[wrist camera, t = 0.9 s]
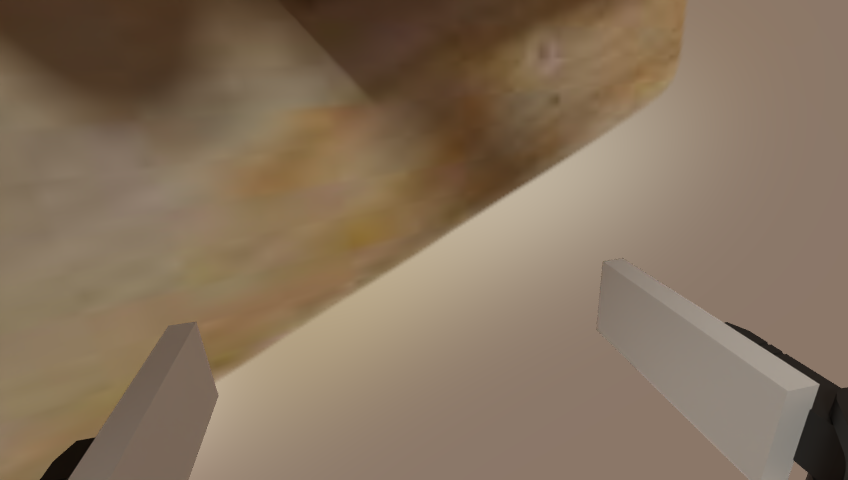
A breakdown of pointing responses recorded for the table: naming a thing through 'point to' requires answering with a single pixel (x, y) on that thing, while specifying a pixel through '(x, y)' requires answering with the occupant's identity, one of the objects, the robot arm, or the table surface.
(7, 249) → the table surface
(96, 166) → the table surface
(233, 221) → the table surface
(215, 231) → the table surface
